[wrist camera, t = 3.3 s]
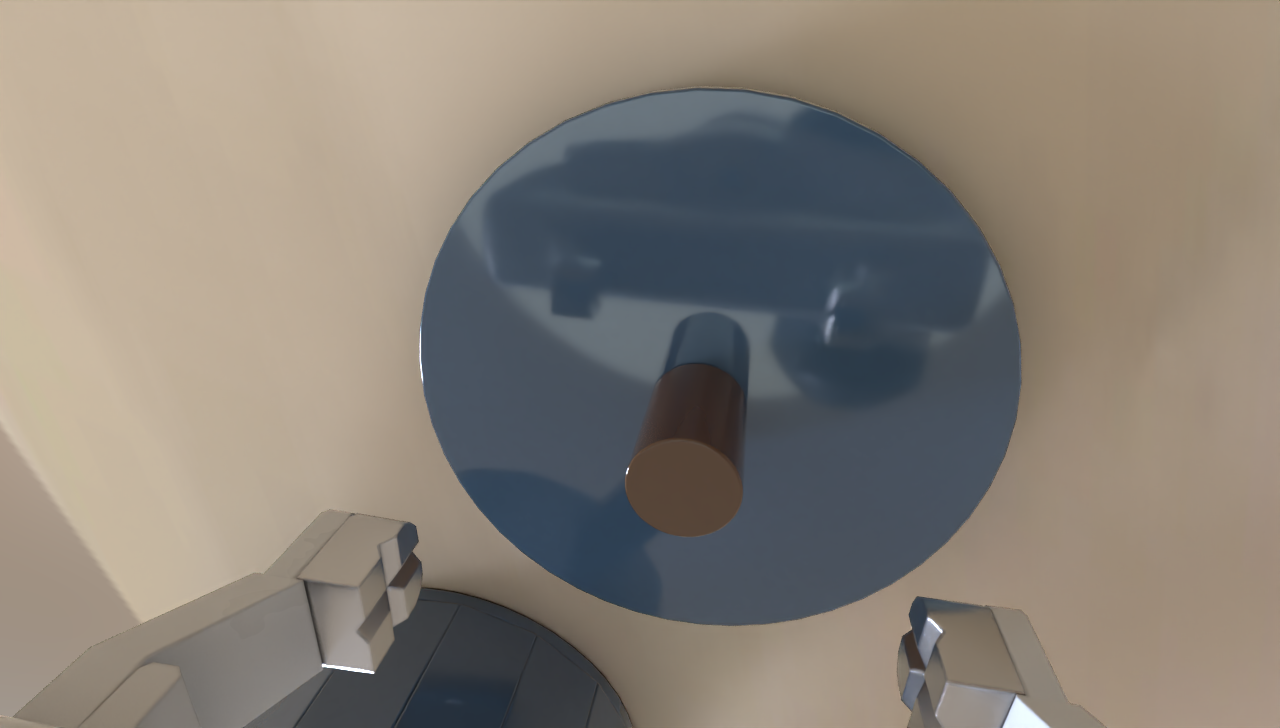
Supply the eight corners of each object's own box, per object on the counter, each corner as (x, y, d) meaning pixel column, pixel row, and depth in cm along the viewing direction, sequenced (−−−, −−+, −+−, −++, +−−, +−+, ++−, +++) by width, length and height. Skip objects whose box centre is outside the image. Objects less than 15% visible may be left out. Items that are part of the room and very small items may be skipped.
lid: (1138, 401, 16) (1270, 528, 12) (702, 665, 22) (688, 810, 18) (701, -82, 13) (671, -139, 9) (344, 370, 19) (228, 461, 15)
